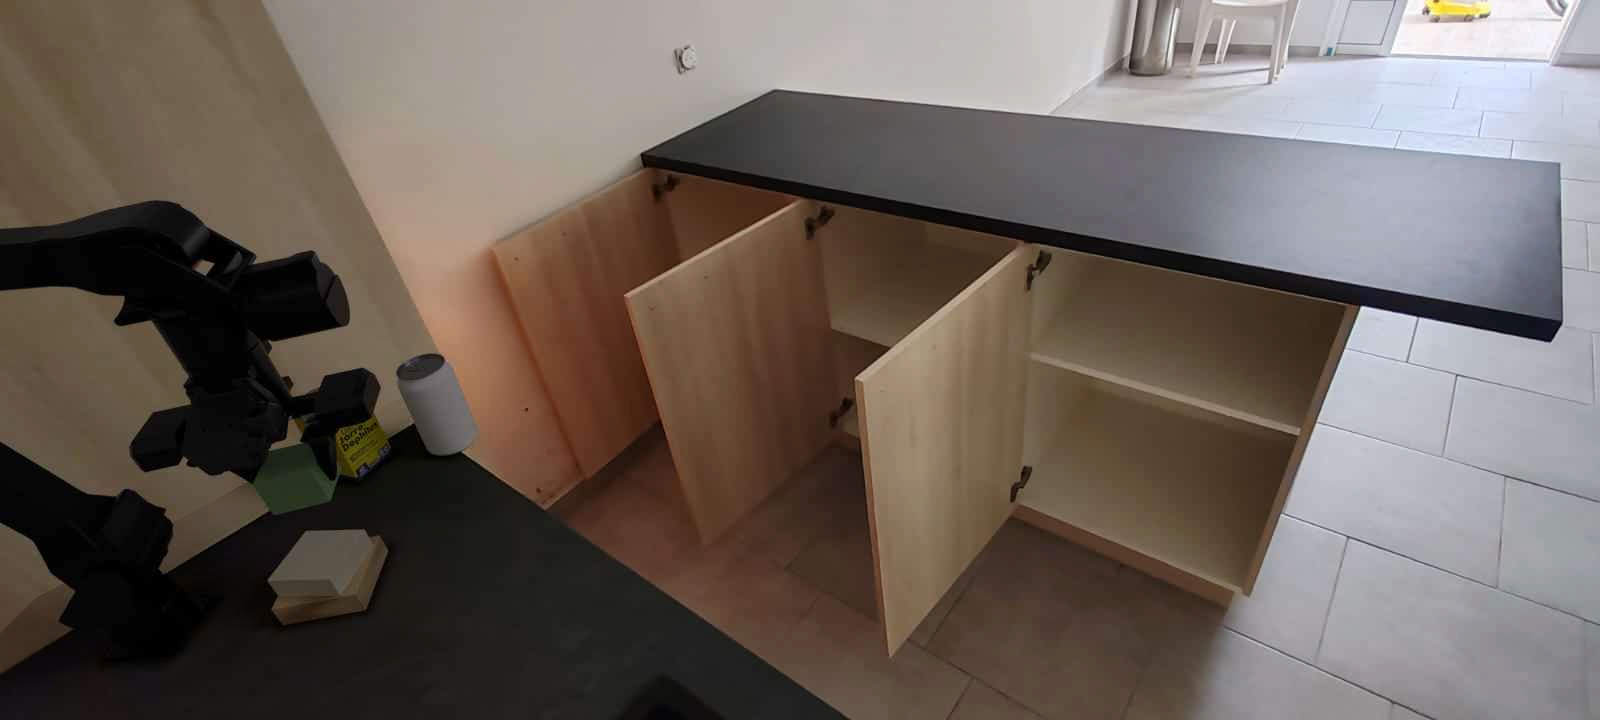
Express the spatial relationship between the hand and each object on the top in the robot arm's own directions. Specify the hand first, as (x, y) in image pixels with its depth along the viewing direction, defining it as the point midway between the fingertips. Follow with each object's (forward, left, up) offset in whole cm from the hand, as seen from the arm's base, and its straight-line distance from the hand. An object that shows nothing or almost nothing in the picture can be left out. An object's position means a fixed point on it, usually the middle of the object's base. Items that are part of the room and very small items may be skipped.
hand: (304, 485), depth 72 cm
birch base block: (-2, -1, -13) cm, 13 cm away
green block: (0, 0, -1) cm, 1 cm away
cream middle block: (-2, -1, -11) cm, 11 cm away
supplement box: (-9, +19, -13) cm, 24 cm away
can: (+2, +22, -13) cm, 25 cm away
